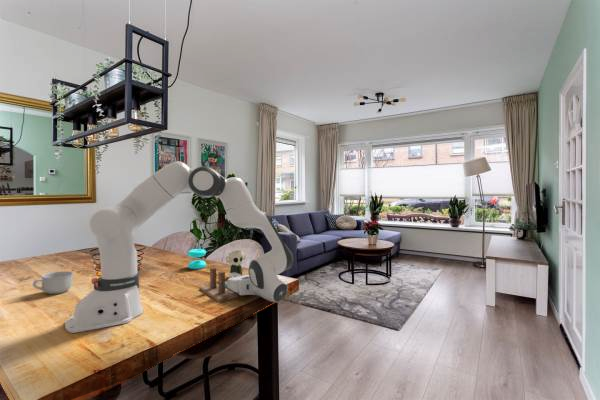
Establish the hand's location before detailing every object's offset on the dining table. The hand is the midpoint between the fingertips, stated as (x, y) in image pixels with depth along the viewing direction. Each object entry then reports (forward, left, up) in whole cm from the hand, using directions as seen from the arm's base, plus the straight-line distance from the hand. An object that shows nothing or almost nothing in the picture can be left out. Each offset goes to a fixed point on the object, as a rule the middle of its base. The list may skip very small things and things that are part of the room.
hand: (242, 276), depth 133 cm
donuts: (-1, +51, -6) cm, 51 cm away
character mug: (+7, +19, -6) cm, 21 cm away
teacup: (-65, +49, -6) cm, 82 cm away
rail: (0, +1, -4) cm, 5 cm away
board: (0, +1, -6) cm, 6 cm away
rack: (-11, +1, -6) cm, 12 cm away
